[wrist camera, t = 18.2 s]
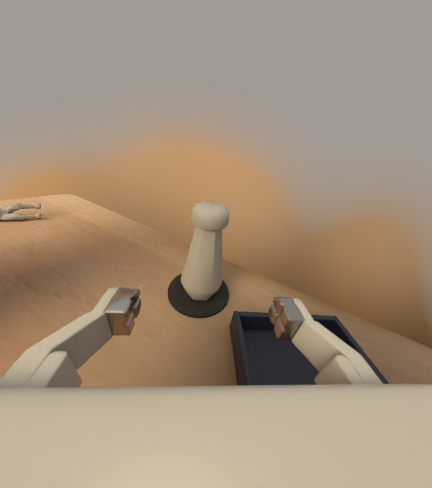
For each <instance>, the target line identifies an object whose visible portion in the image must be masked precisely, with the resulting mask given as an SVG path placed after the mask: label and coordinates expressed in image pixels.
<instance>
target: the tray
mask: <svg viewBox="0 0 432 488" xmlns="http://www.w3.org/2000/svg"><path fill="white" fill-rule="evenodd" d="M311 317H312V318H313V320H314V321H317V322H318V323H320V324H321V325H322V326H324V327H325V328H326V329H328V330H329V331H330V332H332V333H333V334H334V335H336V336H337V337H338V338H340V339H341V340H342V341H344V342H345V343H346V344H347V345H349V346H350V347H351V348H353V349H354V350H355V351H357V352H358V353H359V354H361V355H362V357H363V358H364V359H365V360H366V362H367V363H368V364H369V366H370V367H371V368H372V370H373V371H374V372H375V374H376V375H377V376H378V377H379V379H380V380H381V381H382V383H383V384H389V383H388V382H387V380H386V379H385V378H384V377H383V375H382V374H381V373H380V371H379V370H378V369H377V368H376V366H375V365H374V364H373V363H372V361H371V360H370V359H369V358H368V356H367V355H366V354H365V352H364V351H363V350H362V349H361V347H360V346H359V345H358V344H357V342H356V341H355V340H354V339H353V337H352V336H351V335H350V333H349V332H348V331H347V330H346V328H345V327H344V326H343V325H342V323H341V322H340V321H339V320H338V318H337V317H336V316H321V315H311ZM274 326H275V325H274V324H273V323H272V322H271V321H270V318H269V313H258V312H238V311H234V313H233V317H232V320H231V324H230V332H231V339H232V346H233V353H234V361H235V368H236V375H237V382H238V385H316V384H315V381H314V378H315V377H316V376H317V375H318V374H319V371H318V370H317V369H316V368H315V367H314V366H313V365H312V363H311V362H310V361H309V360H308V359H307V358H306V357H305V356H304V355H303V353H302V352H301V351H300V350H299V349H298V348H297V347H296V346H295V345H294V343H293V342H292V341H291V340H280V339H277V336H276V334H275V331H274Z"/></svg>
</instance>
